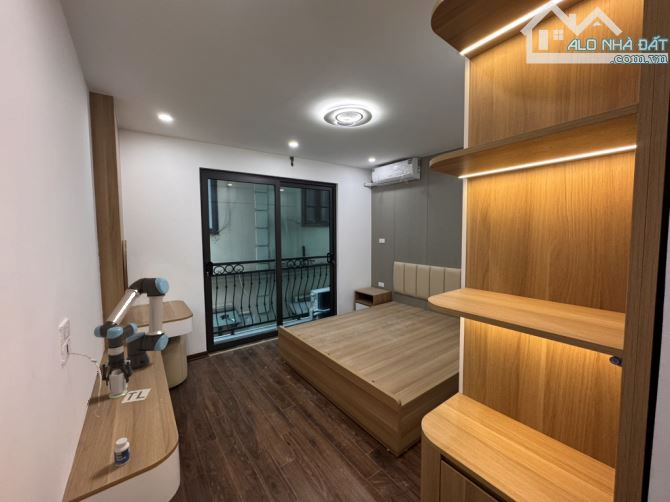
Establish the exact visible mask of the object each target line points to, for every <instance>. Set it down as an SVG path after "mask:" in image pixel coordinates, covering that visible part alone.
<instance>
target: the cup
mask: <svg viewBox="0 0 670 502" xmlns="http://www.w3.org/2000/svg"><path fill="white" fill-rule="evenodd" d="M124 378H125V376H124V373H122V371H121V370H120V369H115V370H113V372H112V374H111V375H109V379H110V384H111V391H110V392H111V393H112V394H119V393H122V392H123V391H124V390H125V389H124Z"/></svg>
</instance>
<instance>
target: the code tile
mask: <svg viewBox="0 0 670 502" xmlns="http://www.w3.org/2000/svg"><path fill="white" fill-rule="evenodd" d="M151 389H152V388H145V389H144V388H143V389H136V390H132V391H128V392H127V394H125V395H124V396H125V397H124V398H123V399H122V401H121V403H120V404H124V403H126V404H127V403H130V402H131V403H132V402H137V401H144V400H146V399H147V397H148V395H149V393H150V391H151Z"/></svg>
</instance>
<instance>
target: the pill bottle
mask: <svg viewBox="0 0 670 502" xmlns="http://www.w3.org/2000/svg"><path fill="white" fill-rule="evenodd" d="M130 450H131V449H130V442H129V441H128V438H127V437H121V438H119V439H118V440H116V441H115V447H114V448H113V457H114V458H113V460H114V462H113V463H114V466H115V467H122V466H124V465H126V464H128V462H130V460H131V451H130Z"/></svg>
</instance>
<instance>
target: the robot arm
mask: <svg viewBox="0 0 670 502" xmlns="http://www.w3.org/2000/svg"><path fill="white" fill-rule="evenodd" d="M169 290H170V284H169V282H168V280H167V279H166V278H164V277H142V278H139V279H137V280H135V281H134V282H132V283H131V284H130V285H129V286H128V287H127V288H126V290H125V291H124V293H125V294H124V295H123V296H122V298H121V299H120V301H119V302H118V304H116V306H115V308H114V309H113V310H112V312H111V313H110V315H108V318H107V319H106V320H105V322H104V323H103V324H100V325H97V326H96V327H94V330H93V335H94V336H95V337H96V338H103V339H104V338H105V339H106V340H107V354H108V355H107V356H108V358H107V359H108V362H104V363H103V364H102V374H101V375H102V376H101V381H102V382H103V381H105V386H106V387H107V389H108V393H109V392H112V391H111V384H110V379H109V375H111V374H112V372H113V371H114V369H115V370H116V369H118V370H121V371H122V373H124V376H125V378H124V389H127V388H128V386H129V385H128V383H129V382H130V378H131V377H132V376H133V370H134V369H139V368H143V367H145V366H147V365H148V364H149V363H150V357H149V355H148V352H161V351H163V350H164V349H165V348H166V346H167V345H168V342H169V336H168V335H167V334H165V333H166V331H165V330H164V329H163V320H164V319H163V318H164V317H163V315H164V314H163V313H164V312H163V311H164V307H163V305H164V297H165V296H166V294H168V292H169ZM143 294H146V298H148V303H149V304H148V307H149V308H148V331H147V332H145V331H139V332H138V329H139V328H138V325H137V324H136V323H132V322H131V323H127V324H124V325H123V324H121V325H120V323H122V321H123V320H124V318H125V316H126V315H127V314H128V312H129V311H130V309H131V308H132V306H133V305H134V303H135V301H136V300H137V299H138V298H140V297H141V296H142V295H143ZM124 340H126V341H125V342H126V343H125V344H126V355H127V356H126V359H125V352H124V351H125V350H124V349H125V348H124V347H125V346H124ZM108 366H109V367H110V368H109V371H108ZM107 371H108V373H107Z"/></svg>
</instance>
